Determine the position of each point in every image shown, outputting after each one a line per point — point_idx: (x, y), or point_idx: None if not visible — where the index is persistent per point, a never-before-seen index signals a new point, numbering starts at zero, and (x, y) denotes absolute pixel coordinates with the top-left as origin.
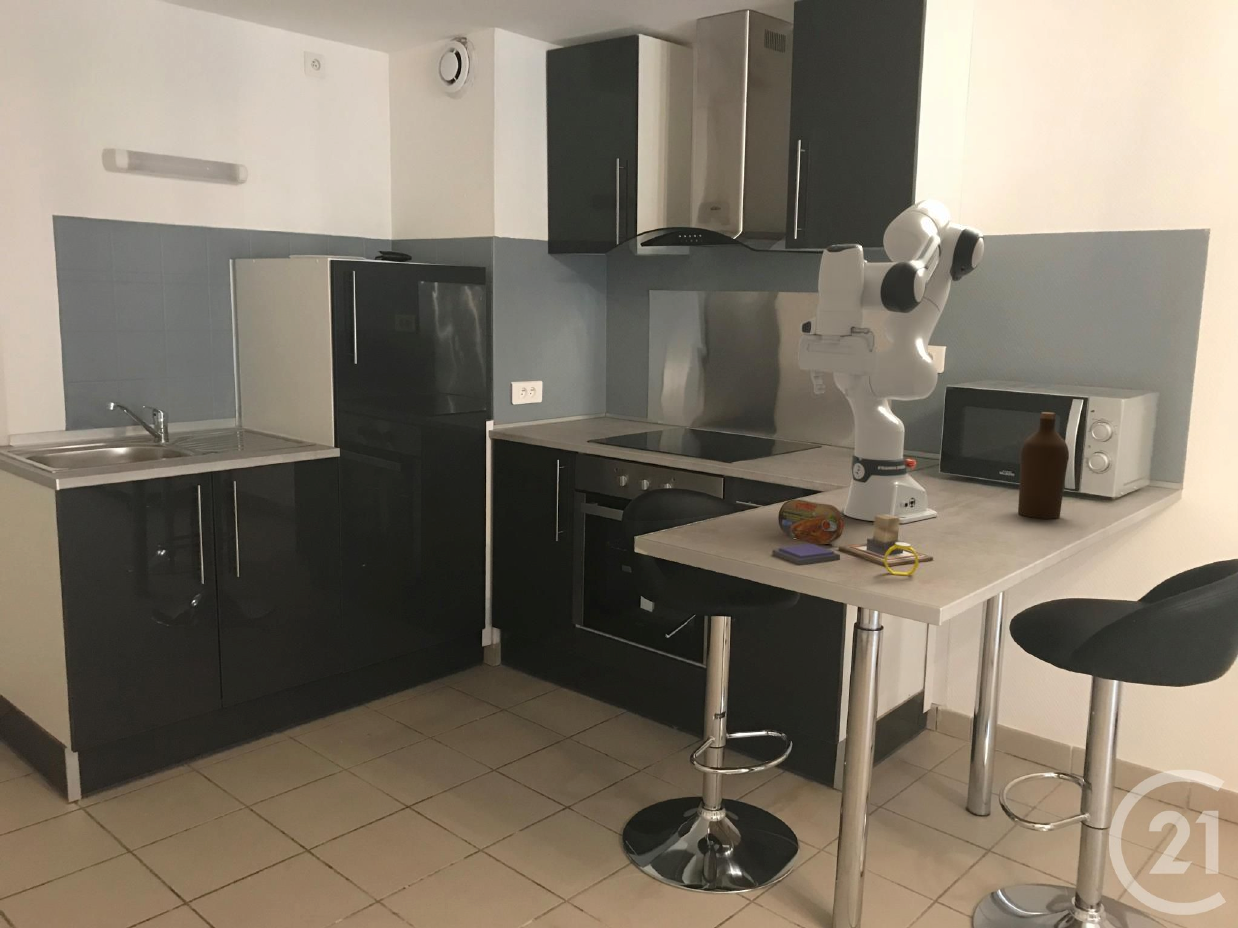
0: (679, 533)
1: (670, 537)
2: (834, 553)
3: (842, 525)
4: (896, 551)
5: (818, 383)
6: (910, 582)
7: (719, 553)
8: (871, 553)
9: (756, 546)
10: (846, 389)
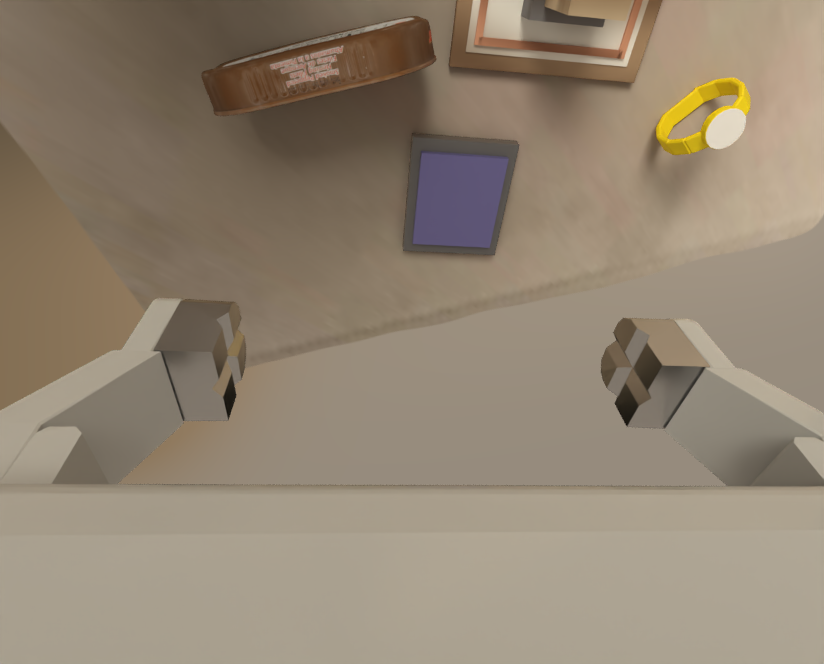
0: None
1: None
2: (504, 149)
3: (430, 30)
4: None
5: (163, 404)
6: None
7: (348, 320)
8: (561, 49)
9: (329, 230)
10: (647, 423)
